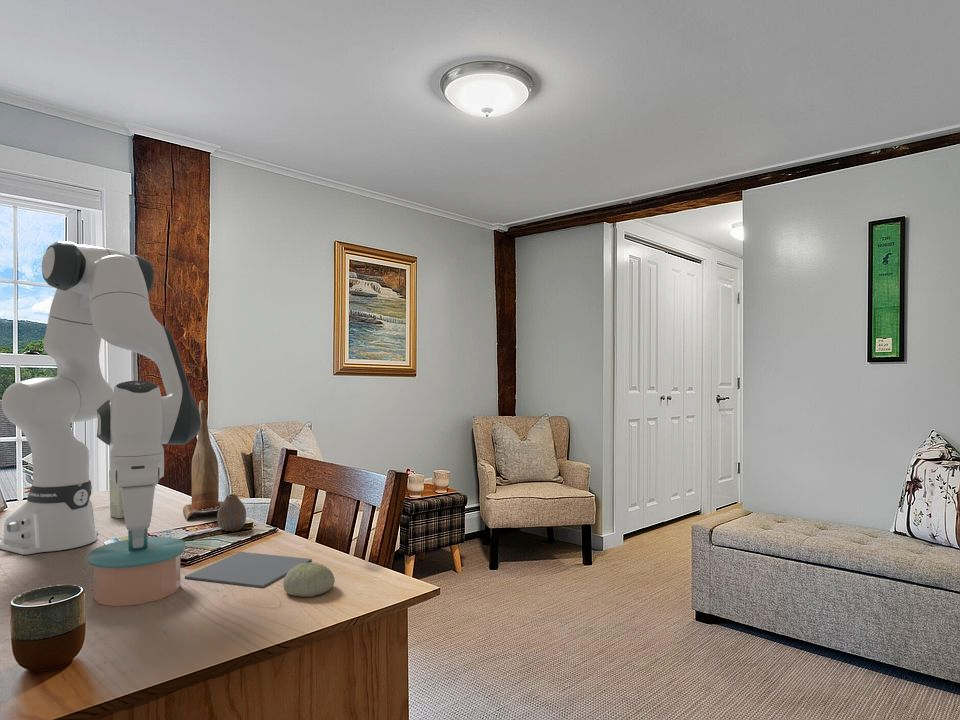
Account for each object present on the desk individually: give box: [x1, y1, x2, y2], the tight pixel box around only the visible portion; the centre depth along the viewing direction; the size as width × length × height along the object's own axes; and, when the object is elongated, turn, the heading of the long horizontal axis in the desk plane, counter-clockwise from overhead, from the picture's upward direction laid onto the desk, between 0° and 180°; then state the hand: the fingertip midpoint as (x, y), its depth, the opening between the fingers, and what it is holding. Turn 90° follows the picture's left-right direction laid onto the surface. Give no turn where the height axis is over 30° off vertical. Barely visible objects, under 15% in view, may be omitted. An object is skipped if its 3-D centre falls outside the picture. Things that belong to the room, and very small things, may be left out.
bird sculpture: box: [182, 399, 223, 521], centre depth 181 cm, size 11×12×32 cm
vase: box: [216, 493, 247, 532], centre depth 165 cm, size 7×7×9 cm
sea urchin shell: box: [282, 561, 336, 598], centre depth 122 cm, size 9×8×8 cm
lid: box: [87, 528, 186, 568], centre depth 122 cm, size 16×16×4 cm
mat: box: [184, 551, 313, 589], centre depth 134 cm, size 18×17×1 cm
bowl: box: [93, 554, 181, 607], centre depth 122 cm, size 14×14×7 cm
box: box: [108, 469, 125, 519], centre depth 179 cm, size 5×4×13 cm
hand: (138, 543), depth 122 cm, fingers open, 4 cm apart
